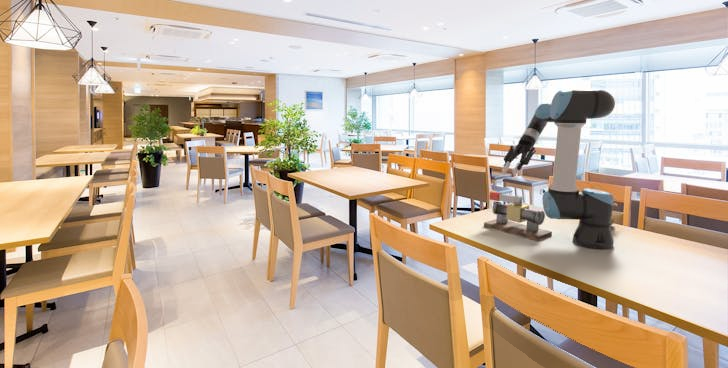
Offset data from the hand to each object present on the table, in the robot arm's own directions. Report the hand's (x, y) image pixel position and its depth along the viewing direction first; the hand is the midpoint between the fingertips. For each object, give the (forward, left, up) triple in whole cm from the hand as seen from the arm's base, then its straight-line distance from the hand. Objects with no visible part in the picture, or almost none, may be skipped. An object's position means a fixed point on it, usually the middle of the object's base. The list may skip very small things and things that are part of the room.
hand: (508, 173), depth 197 cm
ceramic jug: (-30, -30, -26) cm, 50 cm away
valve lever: (-6, +10, -13) cm, 17 cm away
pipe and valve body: (-13, +10, -23) cm, 28 cm away
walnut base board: (-12, +10, -25) cm, 30 cm away
